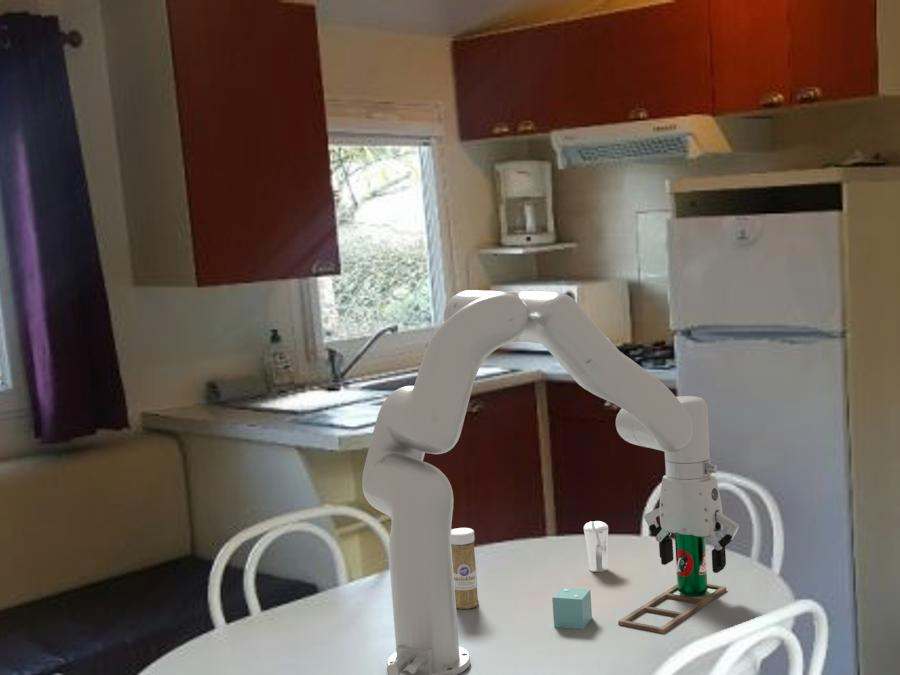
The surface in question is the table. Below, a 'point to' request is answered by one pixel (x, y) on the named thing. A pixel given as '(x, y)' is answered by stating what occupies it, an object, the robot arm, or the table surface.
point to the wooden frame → (671, 594)
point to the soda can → (690, 563)
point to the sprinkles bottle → (464, 568)
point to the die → (572, 608)
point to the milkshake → (596, 545)
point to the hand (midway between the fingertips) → (692, 566)
